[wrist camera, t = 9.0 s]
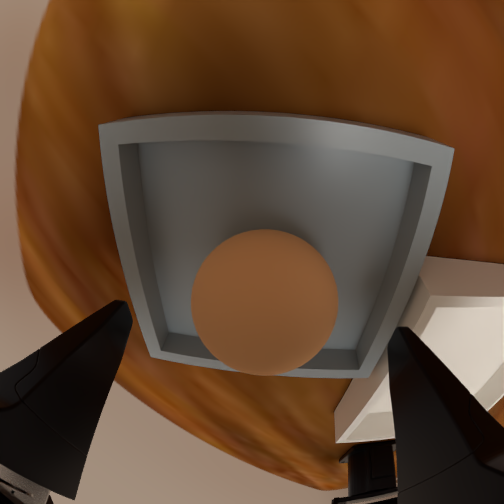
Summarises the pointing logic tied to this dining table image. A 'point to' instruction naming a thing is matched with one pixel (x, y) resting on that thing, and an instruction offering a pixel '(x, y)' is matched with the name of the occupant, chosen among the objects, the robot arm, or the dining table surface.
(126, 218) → the tray
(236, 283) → the ball
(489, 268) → the dish
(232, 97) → the dining table surface
